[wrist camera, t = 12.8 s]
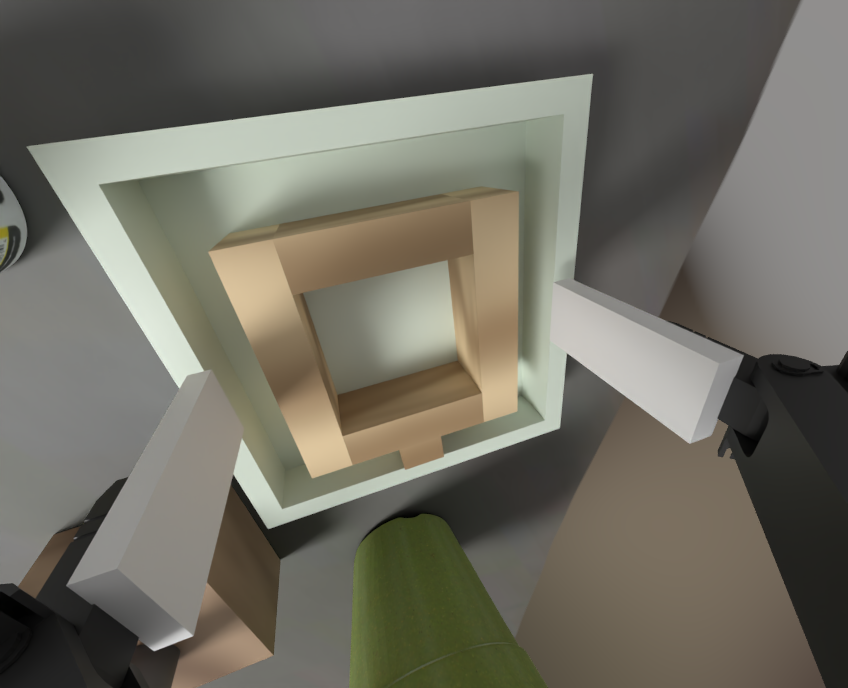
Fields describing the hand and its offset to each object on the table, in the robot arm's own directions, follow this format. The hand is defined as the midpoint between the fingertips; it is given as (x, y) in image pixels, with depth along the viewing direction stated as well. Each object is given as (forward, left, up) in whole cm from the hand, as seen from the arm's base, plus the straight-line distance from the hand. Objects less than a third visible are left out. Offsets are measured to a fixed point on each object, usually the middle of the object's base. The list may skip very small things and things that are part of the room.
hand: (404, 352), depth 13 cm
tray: (0, 0, -4) cm, 4 cm away
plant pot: (-2, -18, -4) cm, 19 cm away
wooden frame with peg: (0, 0, -3) cm, 3 cm away
